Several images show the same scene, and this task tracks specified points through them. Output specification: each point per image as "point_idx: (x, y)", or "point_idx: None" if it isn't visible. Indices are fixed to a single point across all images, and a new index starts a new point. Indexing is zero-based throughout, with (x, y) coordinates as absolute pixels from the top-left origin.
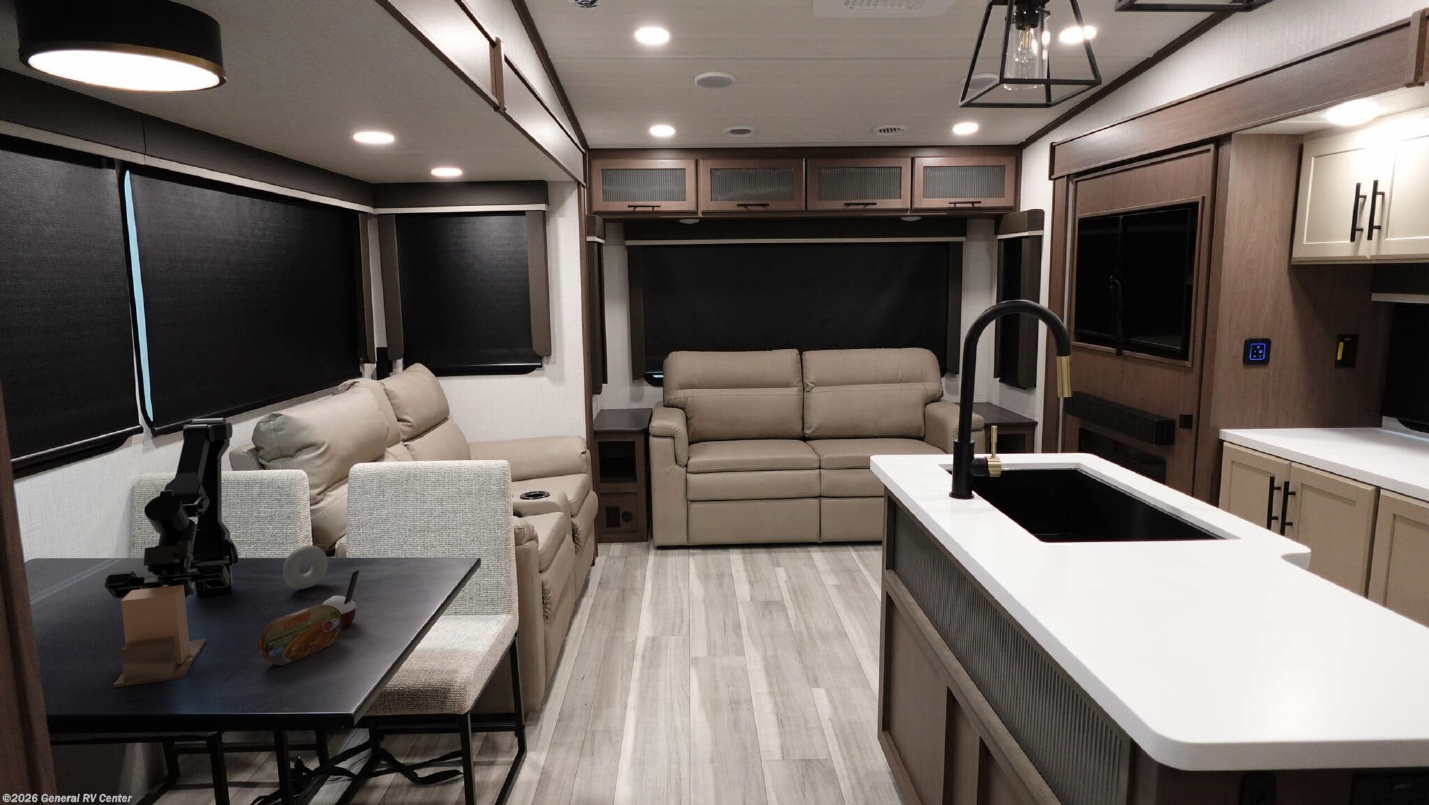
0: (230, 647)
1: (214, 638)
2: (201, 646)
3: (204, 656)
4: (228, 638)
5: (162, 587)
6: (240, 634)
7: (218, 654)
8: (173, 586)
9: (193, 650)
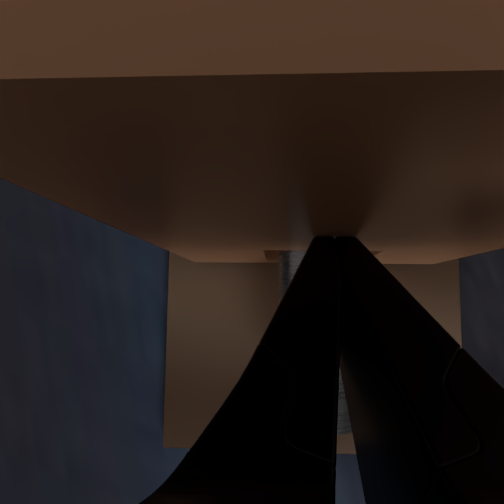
0: (39, 323)
1: (136, 480)
2: (167, 354)
3: (138, 252)
4: (67, 451)
5: (339, 36)
6: (16, 487)
7: (79, 254)
8: (33, 29)
9: (191, 302)
